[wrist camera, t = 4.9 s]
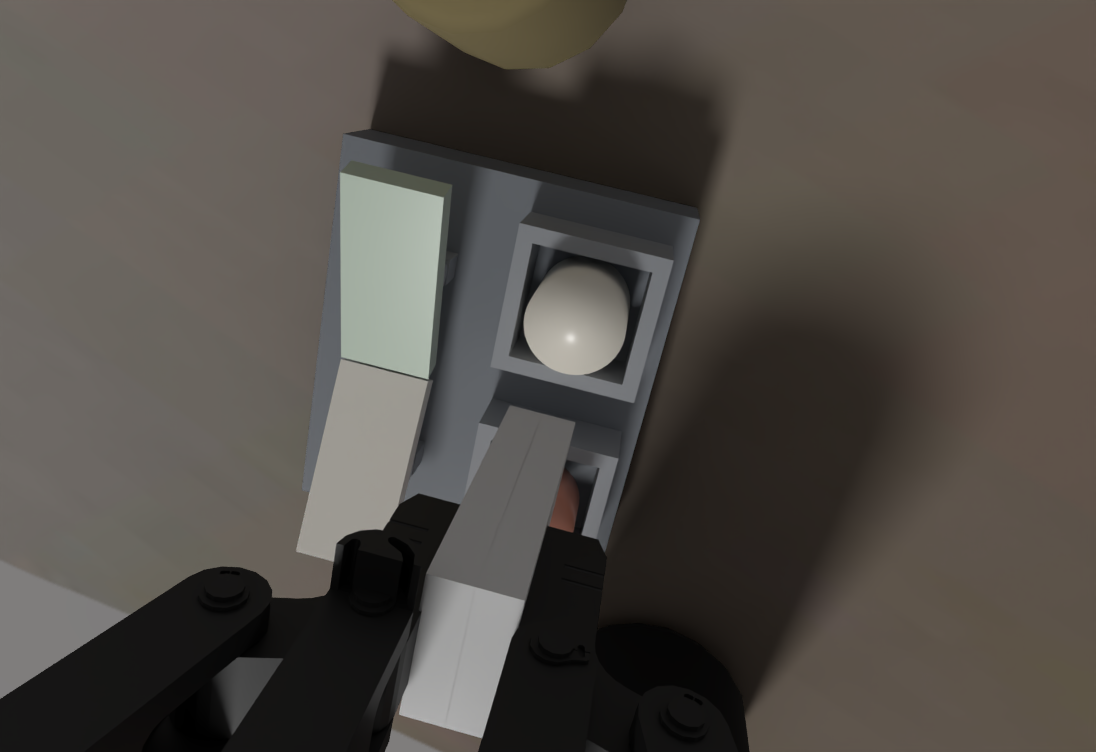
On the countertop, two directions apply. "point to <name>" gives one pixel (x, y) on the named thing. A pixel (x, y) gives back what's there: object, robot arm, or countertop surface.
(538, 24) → the squeeze bottle
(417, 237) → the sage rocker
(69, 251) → the countertop surface
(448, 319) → the panel
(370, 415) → the block
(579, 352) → the ivory button
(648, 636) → the coffee jar
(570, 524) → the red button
